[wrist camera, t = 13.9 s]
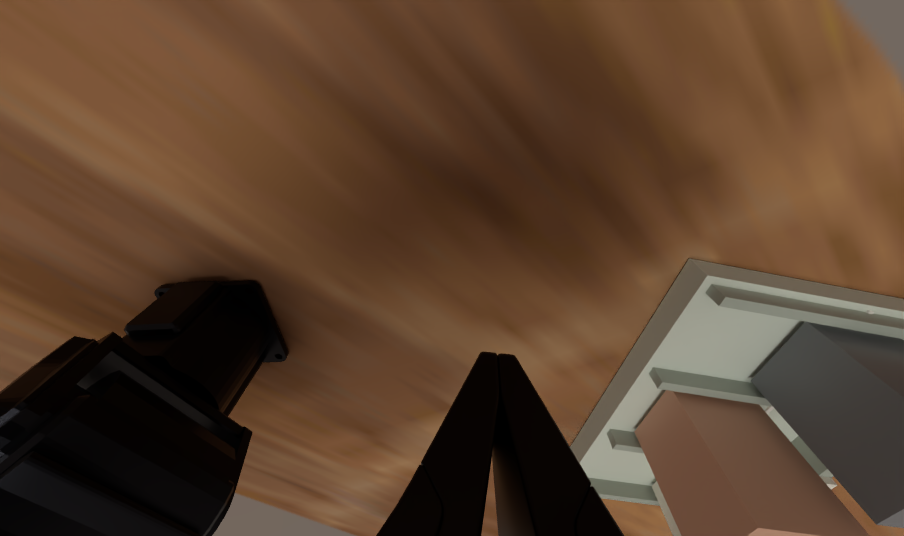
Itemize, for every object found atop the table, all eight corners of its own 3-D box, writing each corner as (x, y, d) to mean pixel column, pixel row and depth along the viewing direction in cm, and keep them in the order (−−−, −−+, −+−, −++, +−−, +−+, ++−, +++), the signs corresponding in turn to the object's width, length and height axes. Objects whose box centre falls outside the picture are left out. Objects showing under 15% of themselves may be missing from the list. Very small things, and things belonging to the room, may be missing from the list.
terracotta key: (634, 431, 25) (701, 578, 18) (669, 385, 23) (762, 535, 16) (711, 442, 26) (805, 590, 19) (754, 398, 23) (882, 550, 16)
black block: (750, 380, 22) (883, 532, 15) (806, 321, 20) (996, 470, 13) (834, 394, 23) (1001, 547, 16) (899, 337, 20) (1133, 490, 13)
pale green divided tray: (561, 460, 31) (576, 521, 27) (689, 258, 20) (744, 309, 16) (718, 481, 32) (754, 542, 28) (917, 301, 22) (1022, 358, 18)
